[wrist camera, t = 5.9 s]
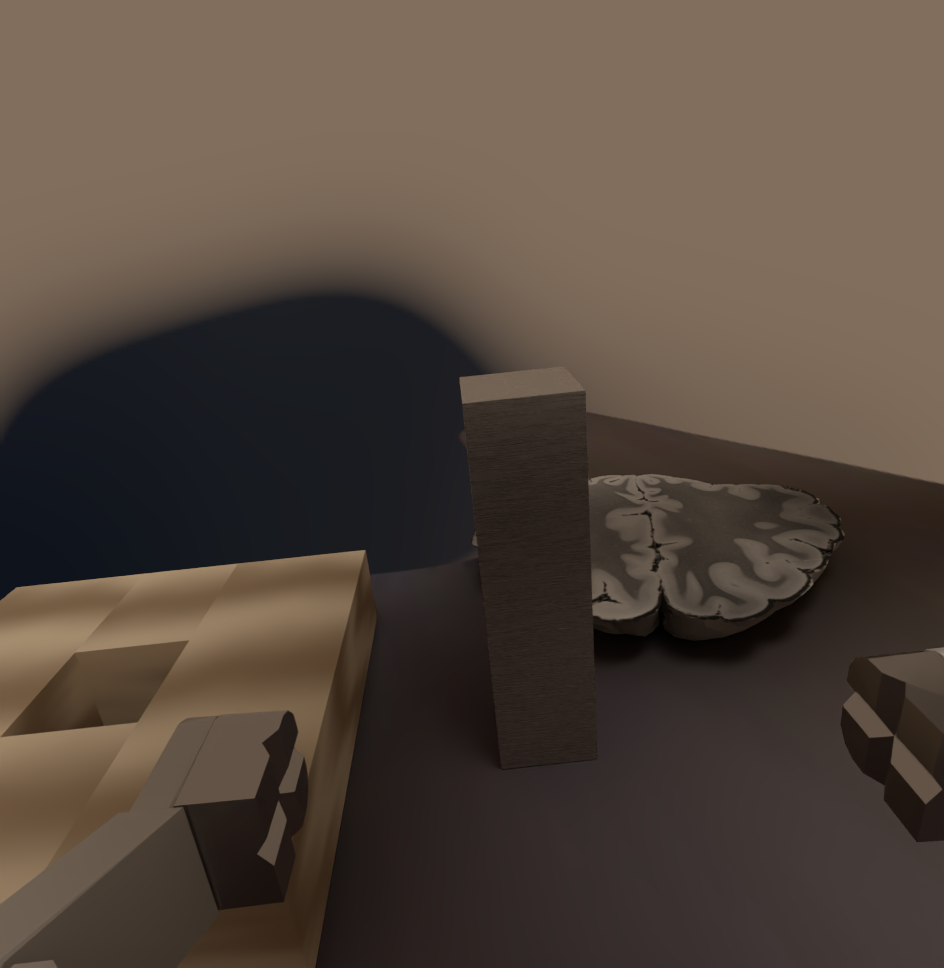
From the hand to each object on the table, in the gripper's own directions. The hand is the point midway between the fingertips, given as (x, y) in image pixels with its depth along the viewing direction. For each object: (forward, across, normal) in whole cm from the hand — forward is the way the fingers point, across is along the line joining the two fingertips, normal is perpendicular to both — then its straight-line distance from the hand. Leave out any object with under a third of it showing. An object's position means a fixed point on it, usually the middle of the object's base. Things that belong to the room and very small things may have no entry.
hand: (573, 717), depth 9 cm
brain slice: (+23, +8, -12) cm, 28 cm away
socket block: (+13, -16, -12) cm, 24 cm away
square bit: (+12, +1, -12) cm, 17 cm away
